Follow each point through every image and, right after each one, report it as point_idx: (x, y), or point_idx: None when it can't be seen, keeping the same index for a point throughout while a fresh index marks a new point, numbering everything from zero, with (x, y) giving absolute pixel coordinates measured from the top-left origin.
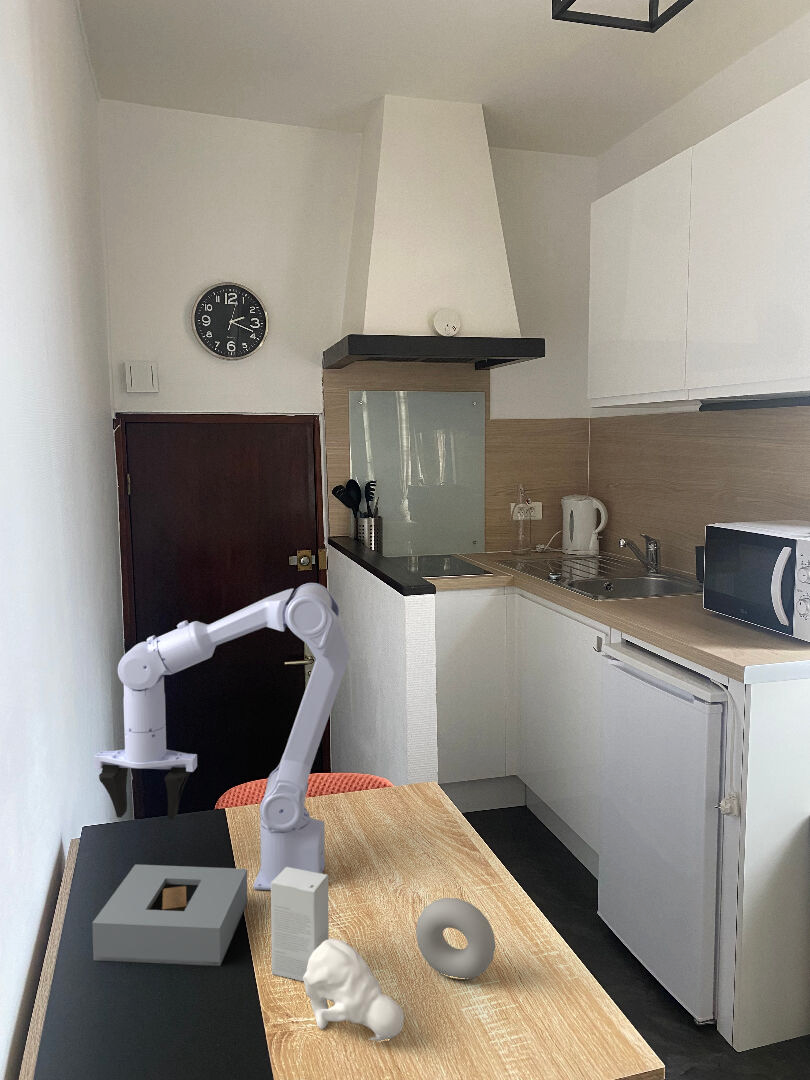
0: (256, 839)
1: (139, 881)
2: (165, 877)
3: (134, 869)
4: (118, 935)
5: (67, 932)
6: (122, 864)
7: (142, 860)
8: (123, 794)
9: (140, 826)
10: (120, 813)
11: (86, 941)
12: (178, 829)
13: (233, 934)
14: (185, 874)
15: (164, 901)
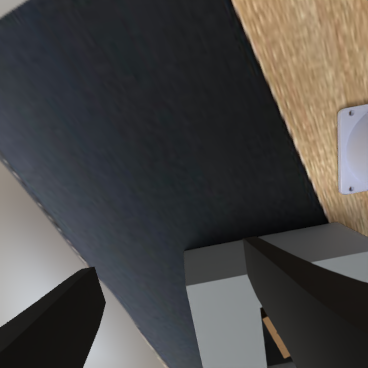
0: (298, 27)
1: (222, 326)
2: (258, 306)
3: (193, 299)
4: None
5: (145, 328)
6: (107, 177)
7: (131, 157)
8: (58, 334)
9: (44, 32)
10: (101, 317)
11: (177, 335)
12: (128, 25)
13: None
14: None
15: (279, 344)
